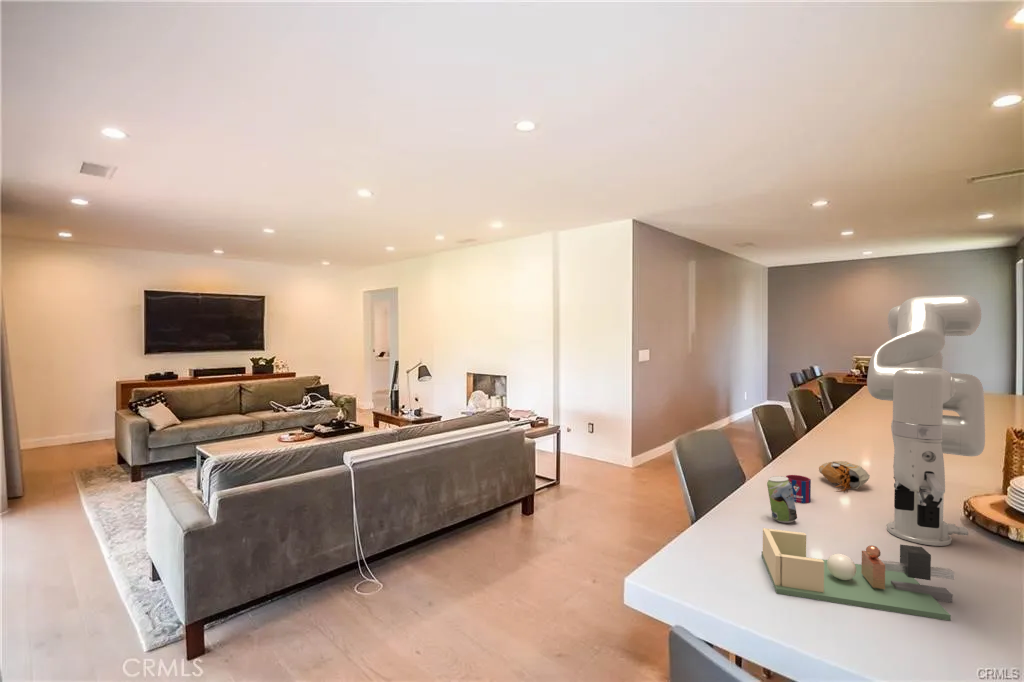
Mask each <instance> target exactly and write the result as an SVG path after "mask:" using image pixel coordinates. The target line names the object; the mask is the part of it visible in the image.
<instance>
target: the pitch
mask: <svg viewBox="0 0 1024 682" xmlns="http://www.w3.org/2000/svg"><path fill="white" fill-rule="evenodd" d="M761 558H762V560H763V563H764V565H765V568H766V571H767V572H768V573H767V574H768V575H769V577H770V580H771V583H772V585H773V588H774V591H775V593H776V594H778V595H784V596H792V597H796V598H797V597H799V598H805V599H811V600H817V601H821V602H822V601H823V602H829V603H830V602H831V603H836V604H843V605H847V606H848V605H849V606H856V607H861V608H869V609H874V610H880V611H886V612H893V613H900V614H907V615H912V616H918V617H924V618H925V617H926V618H929V619H930V618H931V619H937V620H944V621H952V620H951V618H952V617H951V616H952V615H951V614H950V613H949V612H948V611H947V610H946V609H945V608H944V606H942V605H941V604H940V603H939V602H940V601H941V602H946V603H947V602H948V603H953V593H951V592H950V590H948V588H946V587H940V586H933V585H926V584H921V583H920V582H919V581H918V580H916V579H917V578H910V577H907V576H906V575H905V574H904V573H901V572H894V571H886V570H885V589H880V588H873V587H872V586H871V585H870V583H869V582H868V581H867V579H866V578H865V577H864V576H863V574H862V573H861V570H862V563H861V564H859V563H854V564H855V566H856V574H855V576H854V577H853V578H852V579H850V580H840V579H838V578H836V577H834V576H833V575H832V574H831V573H830V572H829V570H828V567H827V561H828V559H823V558H815V557H814V558H813V557H807V534H806V533H805V532H799V531H791V530H784V529H775V528H765V527H762V551H761Z"/></svg>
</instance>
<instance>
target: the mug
mask: <svg viewBox="0 0 1024 682" xmlns="http://www.w3.org/2000/svg"><path fill="white" fill-rule="evenodd" d="M785 477H787V478H788V480H789V481H790V482H791V484H792V489H793V495H794V501H795V503H798V504H809V503H810V502H811V497H812V496H811V494H812V493H811V492H812V491H811V488H812V487H811V486H812V485H811V484H812V479H811V478H810V477H807V476H804V475H797V474H788V475H787V474H786V475H785Z"/></svg>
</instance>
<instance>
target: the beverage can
mask: <svg viewBox="0 0 1024 682" xmlns="http://www.w3.org/2000/svg"><path fill="white" fill-rule="evenodd" d="M766 482H767V483H766V486H767V492H768V499H769V503H770V509H771V515H772V516H771V517H772V518H773V520H776V521H777V522H780V523H786V524H787V523H793V522H795V521H796V520H797V519H798V514H797V513H798V512H797V508H796V502H795V501H794V495H793V489H792V484H791V482H790V481H789V480H788V478H787V477H786V476H783V475H775V476H774V475H773V476H769V477H768V480H767V481H766Z"/></svg>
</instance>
